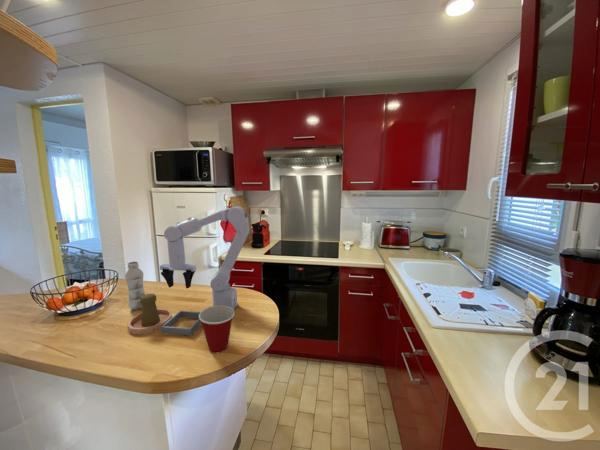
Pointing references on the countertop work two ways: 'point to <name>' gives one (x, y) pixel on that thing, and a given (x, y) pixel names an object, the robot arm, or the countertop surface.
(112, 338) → the countertop surface
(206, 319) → the plastic cup
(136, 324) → the dish
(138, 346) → the countertop surface
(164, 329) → the parts tray
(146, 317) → the olive rounded piece
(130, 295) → the plastic bottle
